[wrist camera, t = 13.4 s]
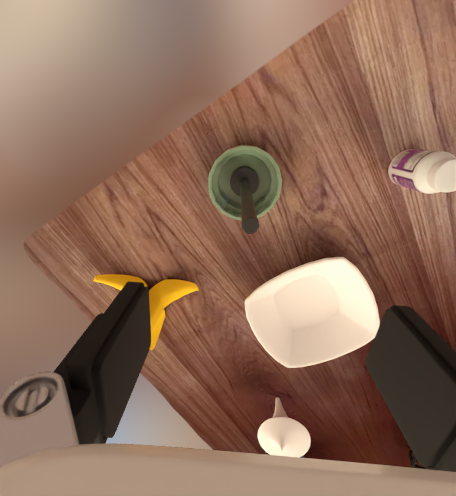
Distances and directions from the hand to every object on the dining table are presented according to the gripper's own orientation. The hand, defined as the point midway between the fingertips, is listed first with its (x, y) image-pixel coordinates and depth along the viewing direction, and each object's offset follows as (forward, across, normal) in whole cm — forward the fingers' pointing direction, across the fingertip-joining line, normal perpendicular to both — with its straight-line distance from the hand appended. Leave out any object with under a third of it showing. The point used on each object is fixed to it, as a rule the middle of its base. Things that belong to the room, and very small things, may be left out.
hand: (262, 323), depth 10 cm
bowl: (+34, -14, +22) cm, 43 cm away
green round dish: (+34, 0, 0) cm, 34 cm away
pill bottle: (+34, -24, -4) cm, 43 cm away
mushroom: (+34, -14, +50) cm, 62 cm away
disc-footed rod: (+34, 0, 0) cm, 34 cm away
